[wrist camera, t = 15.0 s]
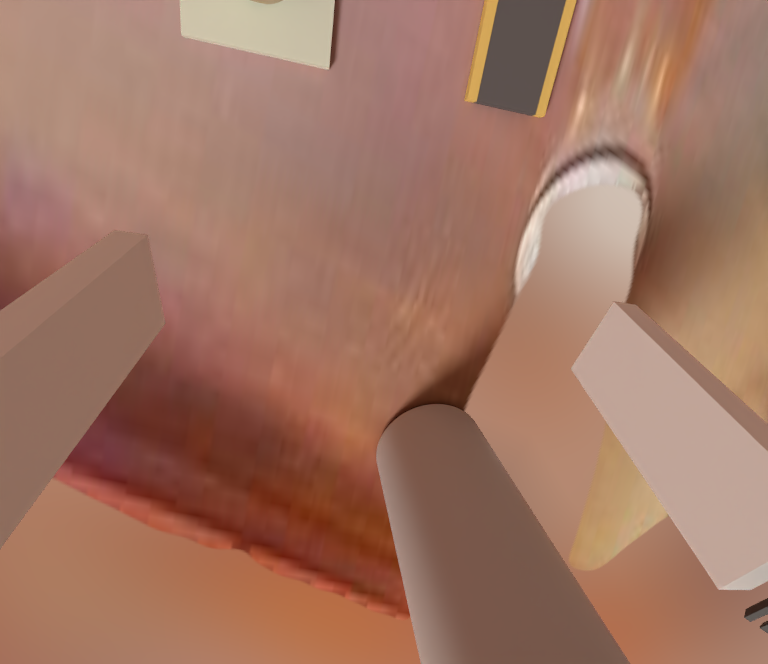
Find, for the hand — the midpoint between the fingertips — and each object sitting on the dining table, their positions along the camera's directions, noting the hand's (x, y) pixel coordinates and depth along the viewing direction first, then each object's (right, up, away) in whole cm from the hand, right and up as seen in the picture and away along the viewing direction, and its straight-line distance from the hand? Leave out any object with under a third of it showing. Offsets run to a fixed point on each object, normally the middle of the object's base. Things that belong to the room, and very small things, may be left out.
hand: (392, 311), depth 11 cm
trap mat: (+11, +24, +18) cm, 31 cm away
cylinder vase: (+5, -14, +34) cm, 37 cm away
